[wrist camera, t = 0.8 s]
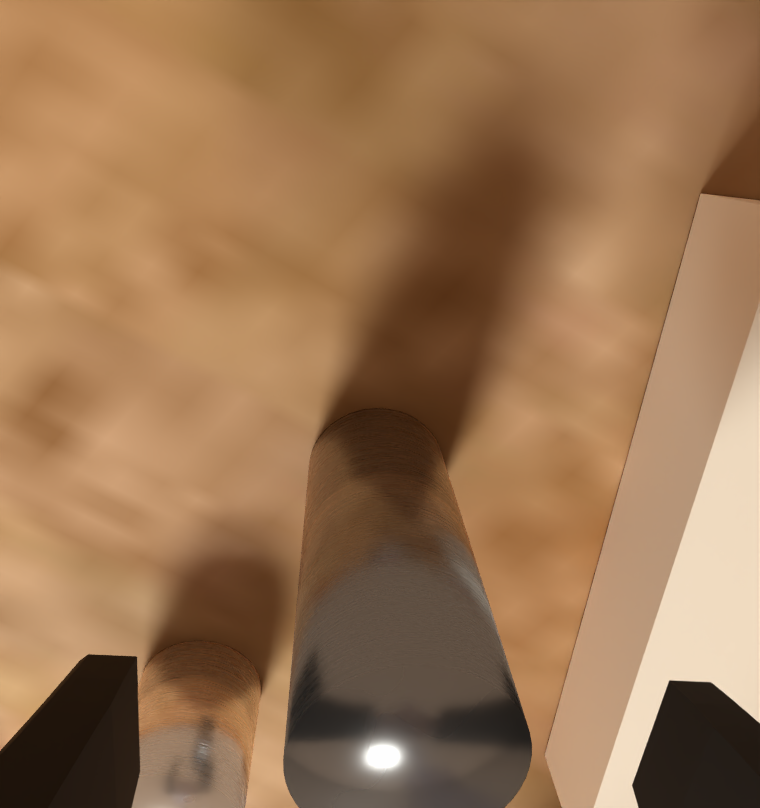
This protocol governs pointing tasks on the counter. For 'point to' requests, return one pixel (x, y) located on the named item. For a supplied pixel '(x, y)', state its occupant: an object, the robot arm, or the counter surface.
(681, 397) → the hole block
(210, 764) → the short pin
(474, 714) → the tall pin
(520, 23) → the counter surface
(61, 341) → the counter surface
